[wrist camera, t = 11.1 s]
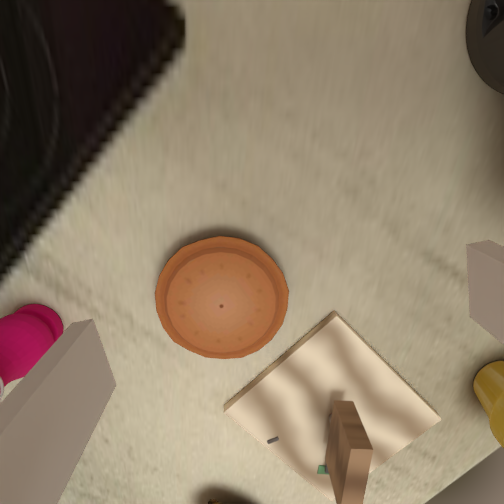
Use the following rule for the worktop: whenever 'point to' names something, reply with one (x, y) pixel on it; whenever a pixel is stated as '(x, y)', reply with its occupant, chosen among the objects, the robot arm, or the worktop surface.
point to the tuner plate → (329, 401)
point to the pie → (221, 297)
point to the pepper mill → (26, 340)
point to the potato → (213, 502)
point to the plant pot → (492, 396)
